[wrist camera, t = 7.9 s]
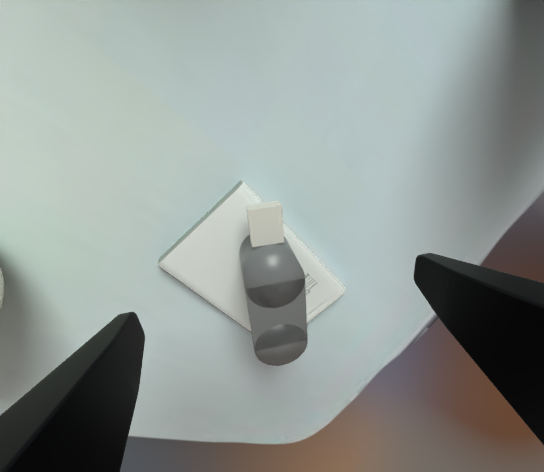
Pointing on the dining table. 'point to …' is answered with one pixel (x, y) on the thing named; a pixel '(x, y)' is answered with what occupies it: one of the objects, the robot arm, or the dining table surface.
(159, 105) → the dining table surface
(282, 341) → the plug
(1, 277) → the lidded jar
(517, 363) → the robot arm
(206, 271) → the external hard drive
